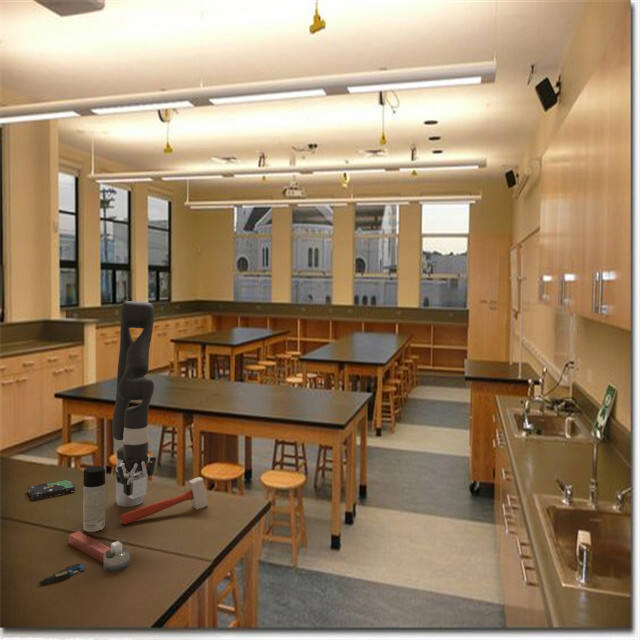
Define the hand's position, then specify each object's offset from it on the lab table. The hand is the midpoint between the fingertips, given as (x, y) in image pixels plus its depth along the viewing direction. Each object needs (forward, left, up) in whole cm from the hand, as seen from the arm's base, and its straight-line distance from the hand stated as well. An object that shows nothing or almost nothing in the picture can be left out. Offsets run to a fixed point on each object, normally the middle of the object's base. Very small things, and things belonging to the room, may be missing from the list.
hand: (135, 492), depth 171 cm
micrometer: (+5, -26, -15) cm, 31 cm away
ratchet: (+1, -14, -15) cm, 20 cm away
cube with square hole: (0, 0, -1) cm, 1 cm away
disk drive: (-57, +2, -15) cm, 59 cm away
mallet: (-7, +17, -15) cm, 24 cm away
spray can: (-16, -5, -15) cm, 22 cm away
